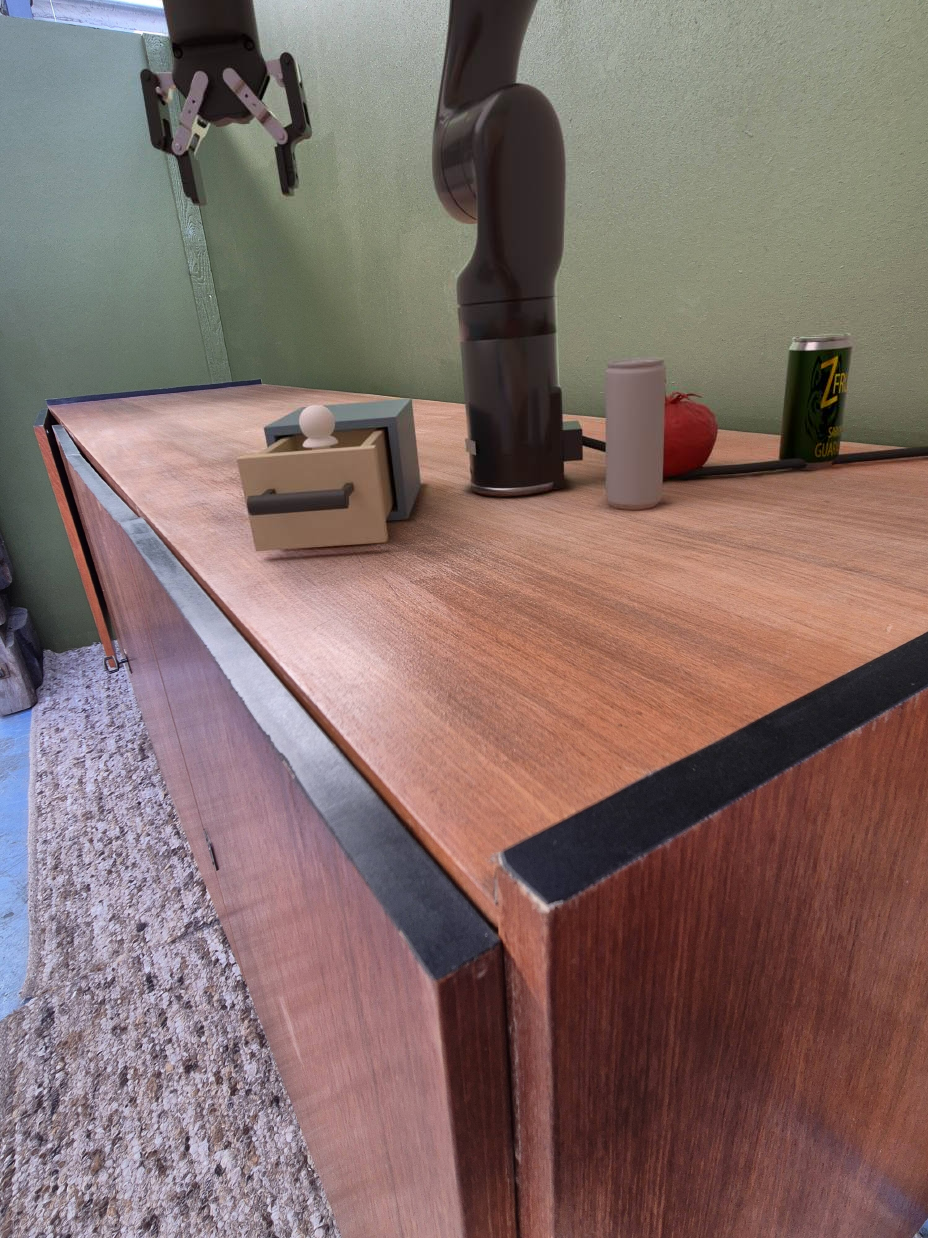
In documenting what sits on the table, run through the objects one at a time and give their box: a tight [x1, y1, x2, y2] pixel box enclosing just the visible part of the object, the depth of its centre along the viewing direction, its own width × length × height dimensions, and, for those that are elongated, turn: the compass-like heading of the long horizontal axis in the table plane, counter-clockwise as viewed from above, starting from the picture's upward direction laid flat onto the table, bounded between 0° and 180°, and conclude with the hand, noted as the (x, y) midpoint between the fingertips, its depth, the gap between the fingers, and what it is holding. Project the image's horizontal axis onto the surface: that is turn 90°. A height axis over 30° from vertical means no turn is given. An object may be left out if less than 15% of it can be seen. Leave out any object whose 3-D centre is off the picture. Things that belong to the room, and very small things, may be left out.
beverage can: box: [604, 357, 667, 511], centre depth 61 cm, size 5×5×12 cm
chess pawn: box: [299, 404, 338, 450], centre depth 58 cm, size 5×5×9 cm
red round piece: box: [663, 378, 719, 478], centre depth 71 cm, size 10×10×9 cm
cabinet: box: [263, 397, 422, 522], centre depth 69 cm, size 14×12×9 cm
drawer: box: [236, 427, 396, 552], centre depth 58 cm, size 17×10×7 cm, turn 178°
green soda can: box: [778, 332, 853, 471], centre depth 69 cm, size 5×5×12 cm
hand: (243, 199), depth 67 cm, fingers open, 8 cm apart
